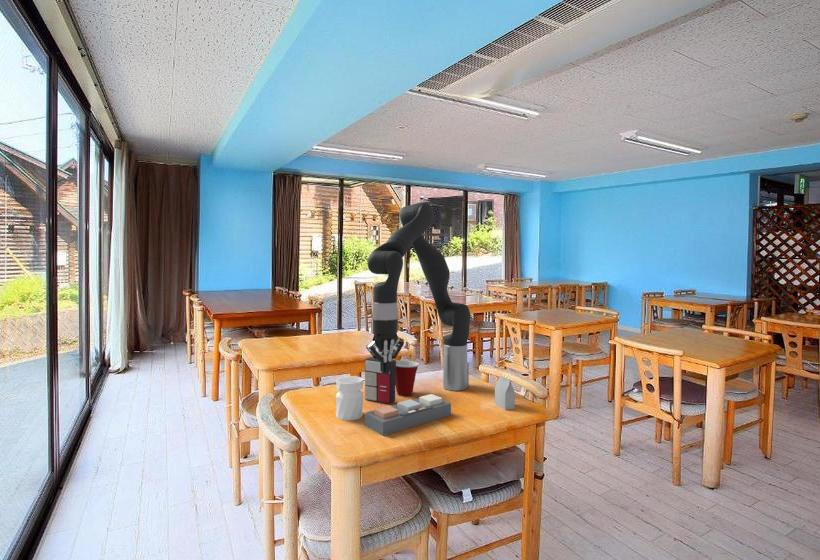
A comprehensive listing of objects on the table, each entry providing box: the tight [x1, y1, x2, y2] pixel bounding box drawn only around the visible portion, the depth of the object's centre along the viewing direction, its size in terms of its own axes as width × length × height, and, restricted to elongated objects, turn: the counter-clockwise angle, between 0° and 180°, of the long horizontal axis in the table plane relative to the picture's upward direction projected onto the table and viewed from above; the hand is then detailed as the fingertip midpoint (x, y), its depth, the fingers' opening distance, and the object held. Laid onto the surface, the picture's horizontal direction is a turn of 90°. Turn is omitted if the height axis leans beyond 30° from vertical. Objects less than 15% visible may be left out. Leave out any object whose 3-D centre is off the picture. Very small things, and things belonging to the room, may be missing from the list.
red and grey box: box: [364, 356, 397, 405], centre depth 168 cm, size 11×4×15 cm, turn 62°
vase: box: [335, 375, 364, 422], centre depth 153 cm, size 9×9×12 cm
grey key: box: [396, 399, 421, 412], centre depth 149 cm, size 5×5×3 cm
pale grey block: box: [494, 375, 516, 411], centre depth 162 cm, size 4×7×10 cm, turn 20°
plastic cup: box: [395, 360, 420, 397], centre depth 176 cm, size 11×11×12 cm
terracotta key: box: [373, 404, 398, 419], centre depth 144 cm, size 5×5×3 cm
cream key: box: [418, 393, 443, 406], centre depth 155 cm, size 5×5×3 cm
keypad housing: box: [364, 398, 452, 436], centre depth 150 cm, size 27×10×4 cm, turn 128°
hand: (385, 373), depth 143 cm, fingers closed
